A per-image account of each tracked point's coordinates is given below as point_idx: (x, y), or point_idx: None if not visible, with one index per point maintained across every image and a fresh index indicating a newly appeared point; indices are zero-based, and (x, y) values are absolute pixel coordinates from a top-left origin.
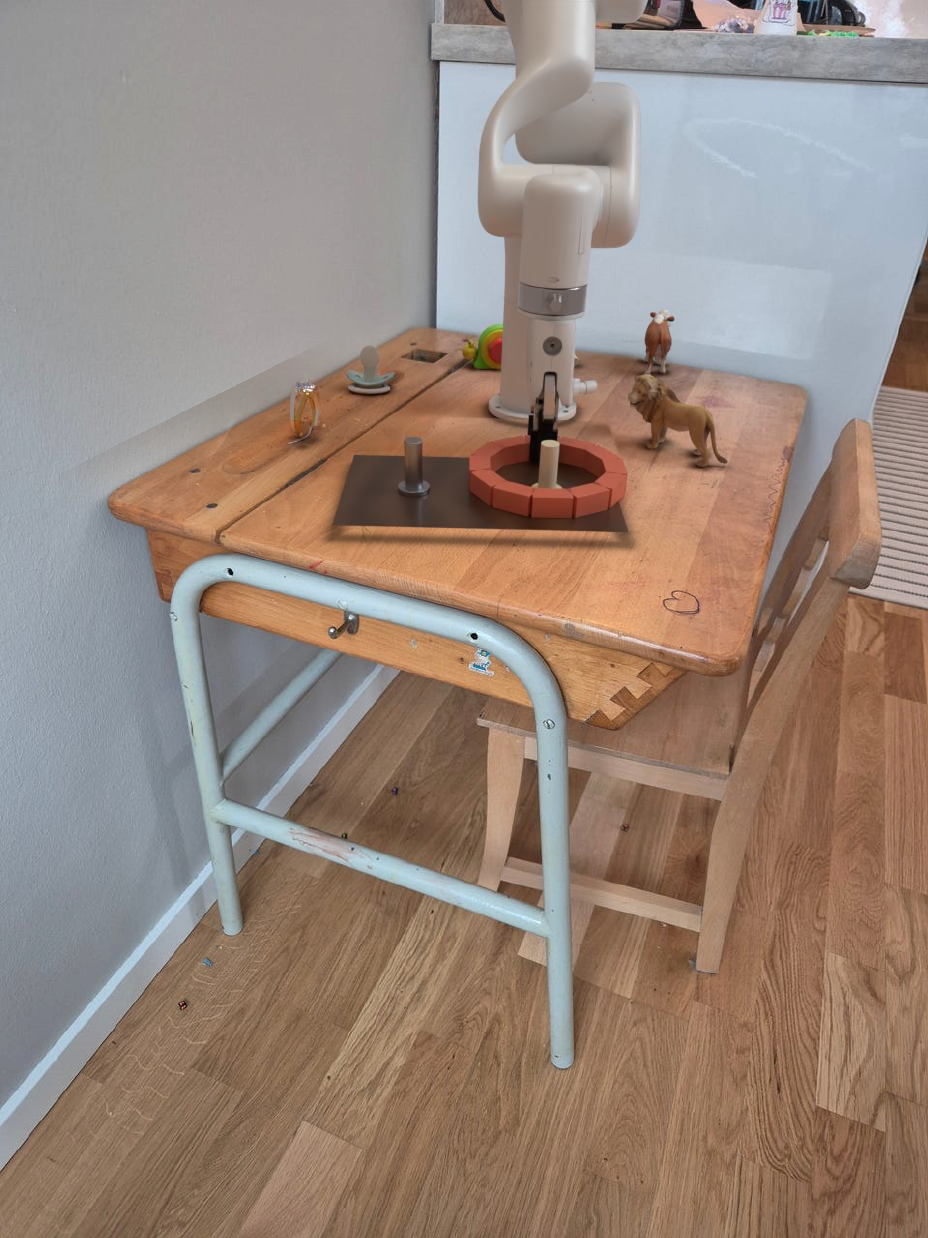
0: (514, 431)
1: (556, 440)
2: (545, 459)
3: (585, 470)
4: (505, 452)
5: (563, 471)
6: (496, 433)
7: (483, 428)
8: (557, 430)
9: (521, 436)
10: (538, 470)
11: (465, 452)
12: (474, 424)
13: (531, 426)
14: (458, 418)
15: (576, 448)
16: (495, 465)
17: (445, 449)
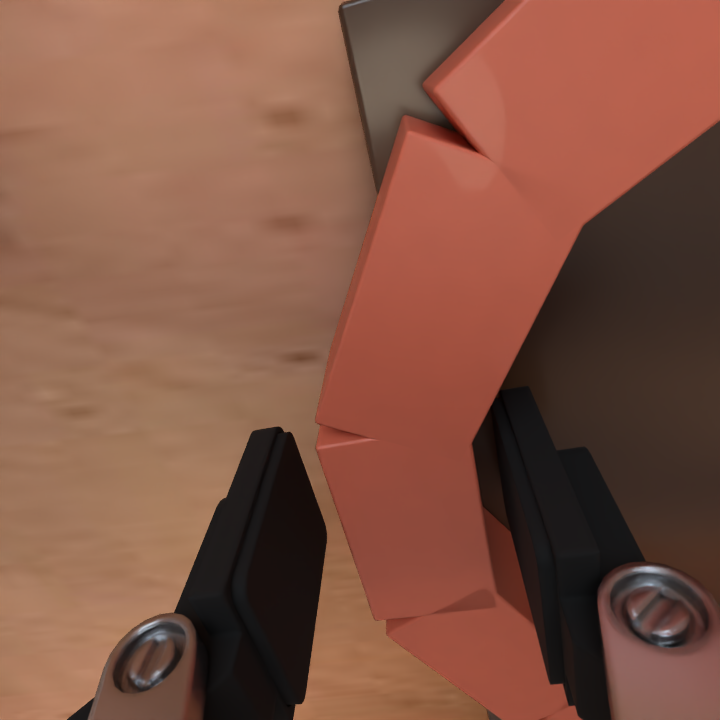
0: (6, 552)
1: (571, 486)
2: None
3: None
4: None
5: (616, 308)
6: (73, 603)
7: (51, 642)
8: (586, 553)
9: (406, 633)
10: (611, 441)
11: (318, 662)
12: (32, 668)
13: (307, 635)
14: (11, 708)
15: (543, 297)
16: None
17: (314, 708)
